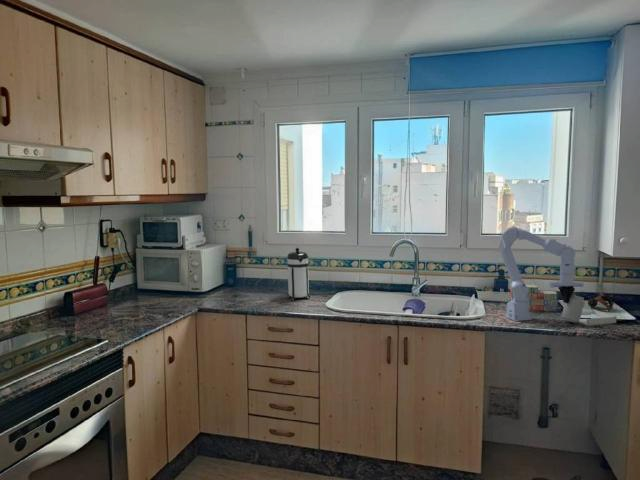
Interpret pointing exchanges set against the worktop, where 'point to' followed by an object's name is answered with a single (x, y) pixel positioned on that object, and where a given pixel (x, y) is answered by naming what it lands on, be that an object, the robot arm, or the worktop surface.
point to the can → (573, 309)
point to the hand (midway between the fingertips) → (565, 302)
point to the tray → (597, 321)
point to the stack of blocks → (540, 299)
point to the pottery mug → (593, 302)
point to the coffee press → (298, 274)
